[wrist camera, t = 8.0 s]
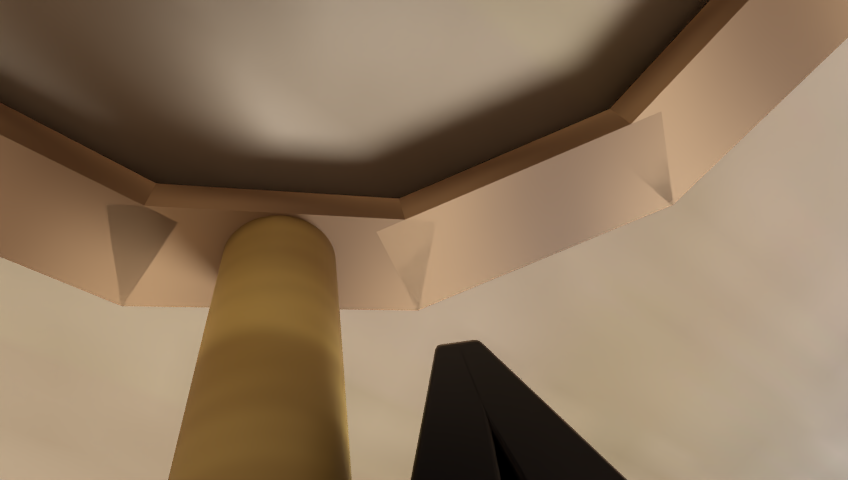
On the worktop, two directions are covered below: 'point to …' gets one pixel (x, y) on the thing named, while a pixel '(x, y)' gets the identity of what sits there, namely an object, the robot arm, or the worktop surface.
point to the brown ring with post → (380, 232)
